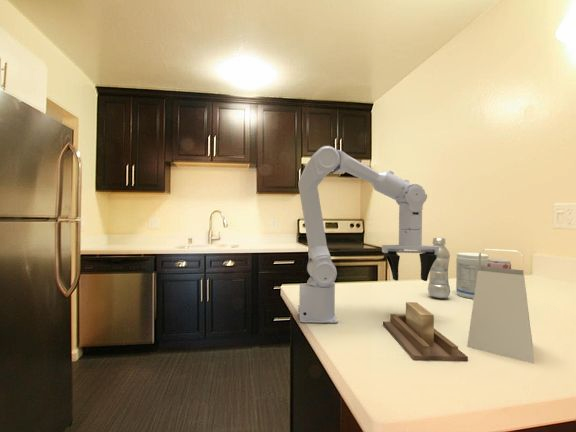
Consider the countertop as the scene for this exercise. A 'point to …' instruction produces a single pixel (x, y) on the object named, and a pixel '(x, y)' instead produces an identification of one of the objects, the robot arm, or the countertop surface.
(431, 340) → the brown wooden block
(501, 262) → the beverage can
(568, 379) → the countertop surface
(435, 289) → the plastic bottle
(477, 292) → the grater
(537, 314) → the countertop surface
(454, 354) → the track
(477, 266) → the supplement tub
